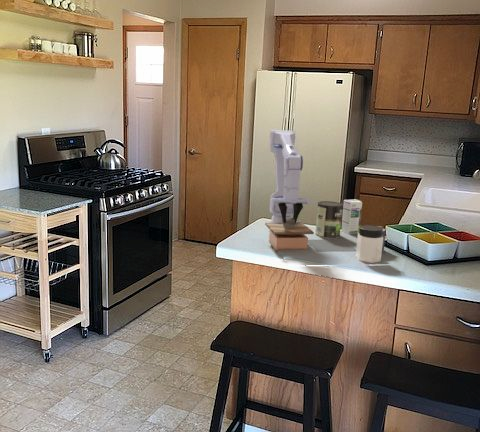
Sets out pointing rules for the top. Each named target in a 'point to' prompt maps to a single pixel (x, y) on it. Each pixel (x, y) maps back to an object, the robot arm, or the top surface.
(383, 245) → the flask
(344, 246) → the mat
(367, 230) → the jar
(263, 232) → the top surface
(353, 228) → the syrup box
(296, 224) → the lid
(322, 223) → the coffee can
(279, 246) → the dish
